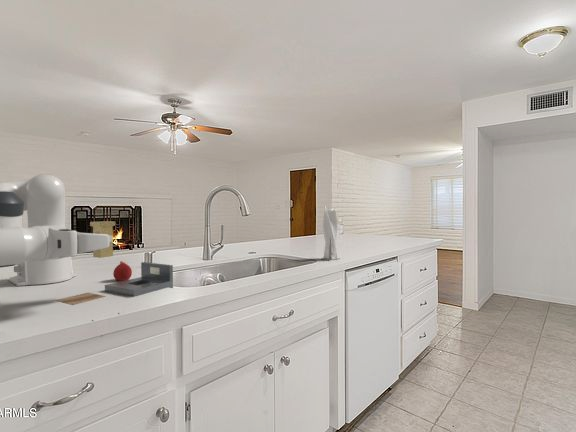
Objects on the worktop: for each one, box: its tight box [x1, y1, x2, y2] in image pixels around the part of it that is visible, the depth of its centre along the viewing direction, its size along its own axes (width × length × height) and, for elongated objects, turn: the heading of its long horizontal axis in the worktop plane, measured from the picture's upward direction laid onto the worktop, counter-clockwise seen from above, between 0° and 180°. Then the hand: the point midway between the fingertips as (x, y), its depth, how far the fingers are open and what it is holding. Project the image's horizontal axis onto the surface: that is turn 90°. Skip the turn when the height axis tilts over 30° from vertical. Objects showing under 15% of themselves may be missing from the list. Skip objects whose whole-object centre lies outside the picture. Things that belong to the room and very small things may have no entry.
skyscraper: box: [320, 205, 341, 261], centre depth 163 cm, size 8×8×28 cm
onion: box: [112, 260, 133, 282], centre depth 111 cm, size 6×6×8 cm
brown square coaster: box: [54, 292, 107, 306], centre depth 88 cm, size 9×9×1 cm
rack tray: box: [104, 261, 174, 297], centre depth 99 cm, size 14×14×8 cm
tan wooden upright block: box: [89, 220, 116, 259], centre depth 91 cm, size 5×5×10 cm
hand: (106, 238), depth 92 cm, fingers closed on tan wooden upright block, 4 cm apart
